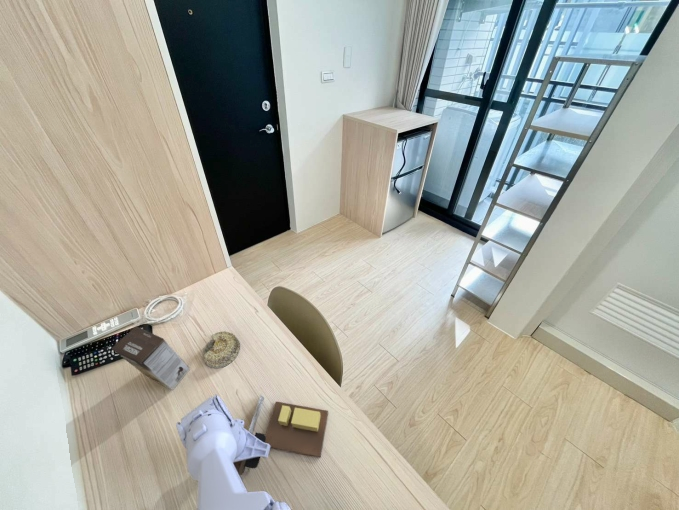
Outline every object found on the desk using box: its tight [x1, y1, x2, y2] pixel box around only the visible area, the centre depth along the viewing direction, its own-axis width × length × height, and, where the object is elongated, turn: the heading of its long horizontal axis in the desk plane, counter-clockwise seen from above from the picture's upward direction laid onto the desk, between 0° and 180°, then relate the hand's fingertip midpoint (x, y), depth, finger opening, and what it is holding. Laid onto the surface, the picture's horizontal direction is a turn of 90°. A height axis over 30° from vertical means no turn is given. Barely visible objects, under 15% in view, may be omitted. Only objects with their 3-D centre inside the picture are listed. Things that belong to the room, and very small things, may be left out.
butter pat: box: [278, 405, 291, 426], centre depth 62 cm, size 3×2×3 cm, turn 171°
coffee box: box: [111, 326, 191, 391], centre depth 66 cm, size 9×6×16 cm
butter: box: [291, 408, 321, 432], centre depth 61 cm, size 3×6×3 cm, turn 81°
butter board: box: [265, 401, 329, 458], centre depth 62 cm, size 9×13×1 cm
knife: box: [233, 394, 265, 476], centre depth 60 cm, size 15×2×3 cm, turn 171°
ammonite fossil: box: [202, 330, 241, 369], centre depth 74 cm, size 10×10×5 cm
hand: (242, 452), depth 58 cm, fingers open, 6 cm apart
